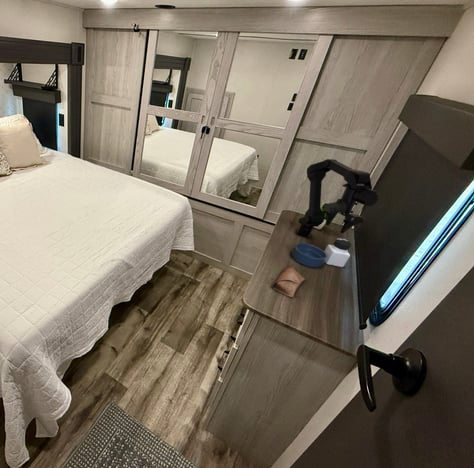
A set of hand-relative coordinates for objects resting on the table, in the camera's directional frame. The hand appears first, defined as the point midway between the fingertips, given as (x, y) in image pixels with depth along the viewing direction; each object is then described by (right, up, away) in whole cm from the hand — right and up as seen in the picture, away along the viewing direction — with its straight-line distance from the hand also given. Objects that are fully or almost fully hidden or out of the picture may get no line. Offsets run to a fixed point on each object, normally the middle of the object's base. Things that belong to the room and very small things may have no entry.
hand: (334, 229), depth 136 cm
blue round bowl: (-14, -15, -1) cm, 21 cm away
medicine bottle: (-2, -16, -1) cm, 16 cm away
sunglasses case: (-34, -24, -18) cm, 45 cm away
